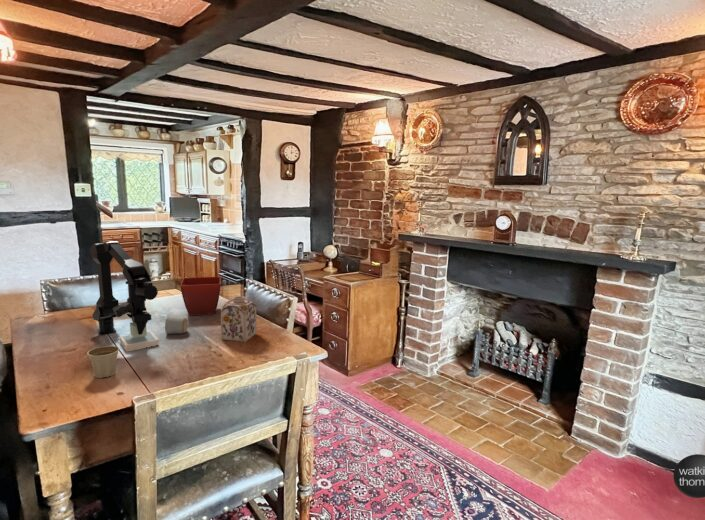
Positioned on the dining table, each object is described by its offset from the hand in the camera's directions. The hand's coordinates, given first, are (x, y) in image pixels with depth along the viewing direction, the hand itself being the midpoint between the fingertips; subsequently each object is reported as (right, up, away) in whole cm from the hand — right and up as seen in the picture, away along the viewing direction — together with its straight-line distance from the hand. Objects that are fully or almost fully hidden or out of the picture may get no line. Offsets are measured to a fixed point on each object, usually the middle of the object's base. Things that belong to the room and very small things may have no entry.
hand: (138, 332), depth 170 cm
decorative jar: (+38, -4, +13) cm, 40 cm away
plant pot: (+9, +2, +48) cm, 48 cm away
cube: (0, -1, 0) cm, 1 cm away
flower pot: (+3, -10, -28) cm, 29 cm away
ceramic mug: (+9, -3, +16) cm, 19 cm away
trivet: (0, -5, +1) cm, 5 cm away
